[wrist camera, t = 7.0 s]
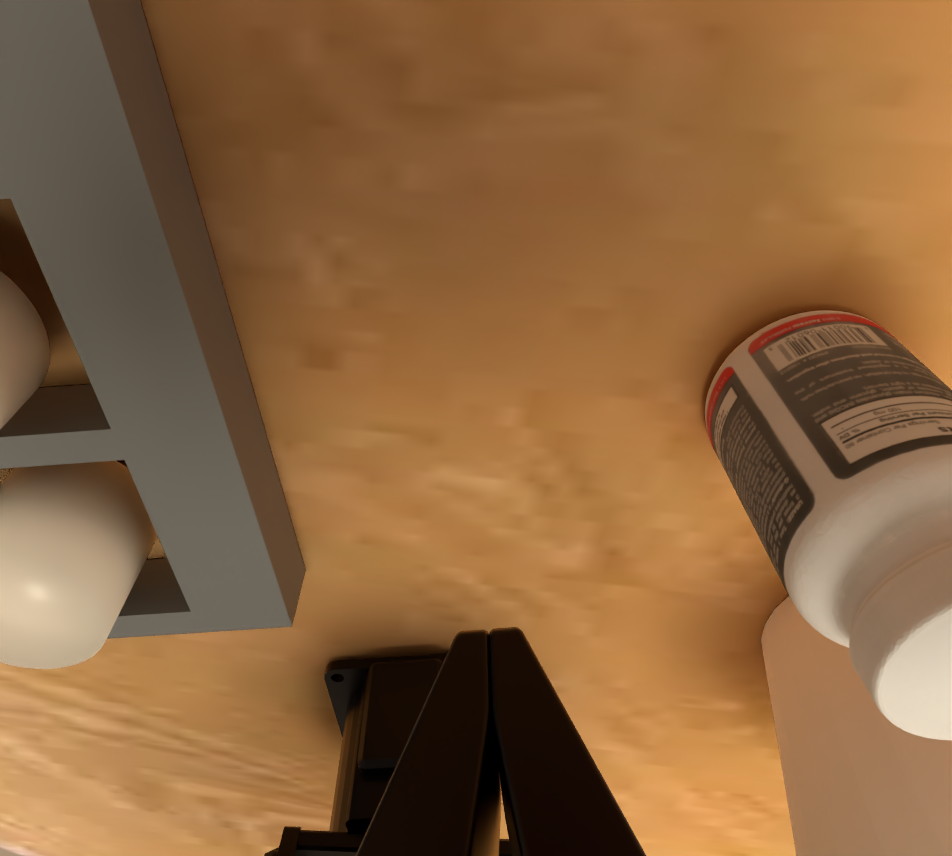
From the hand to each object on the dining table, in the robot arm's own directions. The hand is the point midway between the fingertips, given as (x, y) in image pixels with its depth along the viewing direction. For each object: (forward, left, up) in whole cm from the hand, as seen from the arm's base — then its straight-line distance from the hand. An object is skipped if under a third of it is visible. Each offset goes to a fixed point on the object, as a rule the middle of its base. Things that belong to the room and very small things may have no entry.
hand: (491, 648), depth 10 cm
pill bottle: (-4, -9, -12) cm, 16 cm away
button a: (-6, +13, -11) cm, 18 cm away
